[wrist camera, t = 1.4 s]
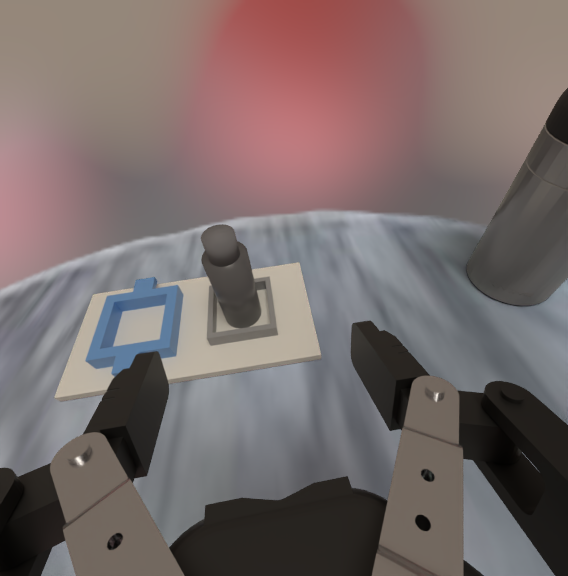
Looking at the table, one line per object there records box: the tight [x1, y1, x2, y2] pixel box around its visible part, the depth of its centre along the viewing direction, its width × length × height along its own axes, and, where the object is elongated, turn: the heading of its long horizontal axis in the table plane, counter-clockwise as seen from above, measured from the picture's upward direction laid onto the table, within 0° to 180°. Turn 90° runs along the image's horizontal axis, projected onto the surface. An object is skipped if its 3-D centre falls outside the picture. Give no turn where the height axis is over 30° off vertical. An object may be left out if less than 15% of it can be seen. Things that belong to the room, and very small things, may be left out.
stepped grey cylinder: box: [201, 225, 261, 328], centre depth 31 cm, size 4×4×12 cm
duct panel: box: [54, 263, 321, 401], centre depth 35 cm, size 28×14×3 cm, turn 98°
